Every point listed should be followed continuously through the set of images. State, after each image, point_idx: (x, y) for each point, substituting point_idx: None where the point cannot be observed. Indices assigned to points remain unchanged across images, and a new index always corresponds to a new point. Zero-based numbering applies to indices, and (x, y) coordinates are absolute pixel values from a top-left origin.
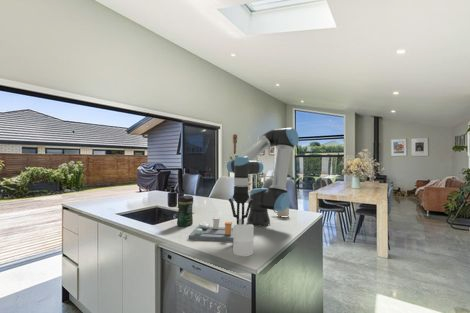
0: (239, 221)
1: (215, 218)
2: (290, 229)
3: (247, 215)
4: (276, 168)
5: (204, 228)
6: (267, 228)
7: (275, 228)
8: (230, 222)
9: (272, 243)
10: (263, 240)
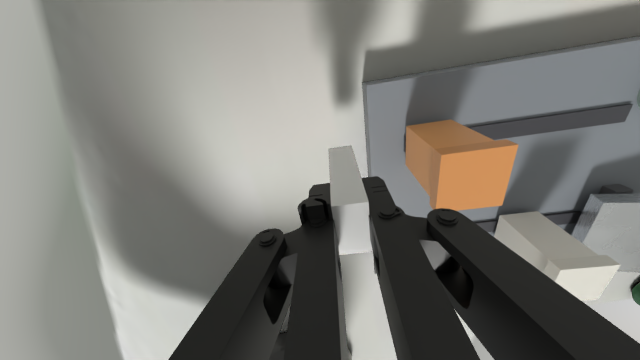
0: (355, 185)
1: (592, 274)
2: (156, 324)
3: (246, 254)
4: None
5: None
6: None
7: None
8: (451, 196)
9: (135, 129)
10: (203, 164)
